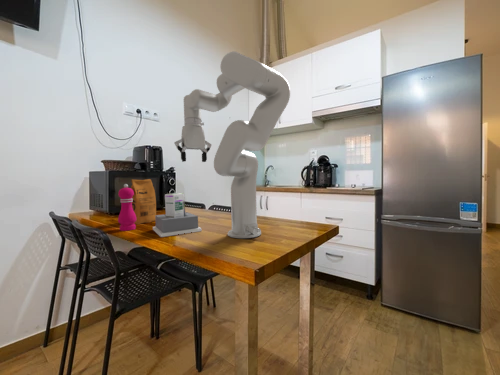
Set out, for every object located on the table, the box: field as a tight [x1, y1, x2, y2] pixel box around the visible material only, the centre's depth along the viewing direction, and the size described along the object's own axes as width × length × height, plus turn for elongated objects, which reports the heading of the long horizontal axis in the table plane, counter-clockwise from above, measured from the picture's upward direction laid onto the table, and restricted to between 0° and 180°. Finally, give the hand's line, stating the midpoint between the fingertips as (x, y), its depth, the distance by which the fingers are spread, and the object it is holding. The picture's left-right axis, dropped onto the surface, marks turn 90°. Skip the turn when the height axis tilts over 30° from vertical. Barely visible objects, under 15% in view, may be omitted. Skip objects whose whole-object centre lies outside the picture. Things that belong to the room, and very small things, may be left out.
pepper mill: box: [117, 183, 137, 232], centre depth 103 cm, size 7×7×20 cm
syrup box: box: [164, 192, 186, 218], centre depth 99 cm, size 6×6×14 cm
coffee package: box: [130, 178, 157, 225], centre depth 120 cm, size 10×12×22 cm
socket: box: [152, 211, 202, 238], centre depth 99 cm, size 16×16×6 cm
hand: (194, 161), depth 108 cm, fingers open, 9 cm apart
